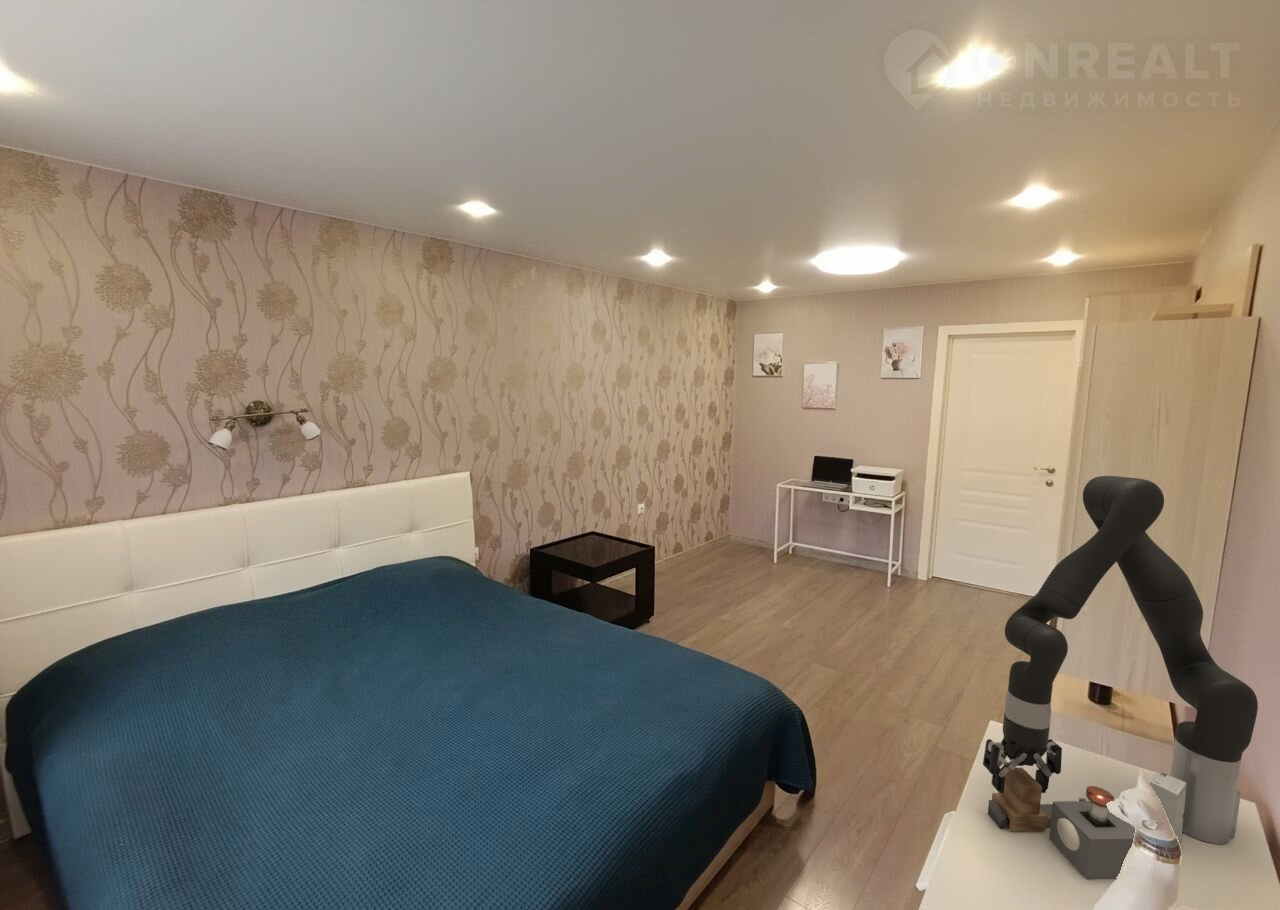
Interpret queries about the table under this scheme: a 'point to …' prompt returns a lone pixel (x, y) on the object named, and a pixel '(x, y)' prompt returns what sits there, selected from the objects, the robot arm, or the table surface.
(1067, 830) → the cabinet
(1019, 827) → the stepped wooden block
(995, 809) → the rail
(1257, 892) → the table surface
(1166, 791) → the skincare box
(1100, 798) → the plunger
